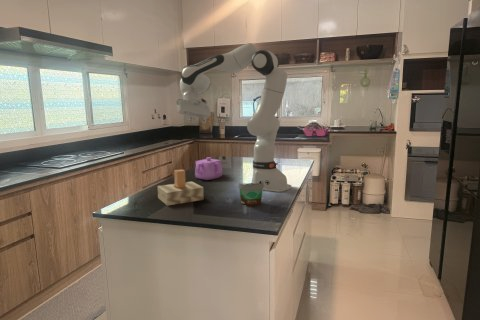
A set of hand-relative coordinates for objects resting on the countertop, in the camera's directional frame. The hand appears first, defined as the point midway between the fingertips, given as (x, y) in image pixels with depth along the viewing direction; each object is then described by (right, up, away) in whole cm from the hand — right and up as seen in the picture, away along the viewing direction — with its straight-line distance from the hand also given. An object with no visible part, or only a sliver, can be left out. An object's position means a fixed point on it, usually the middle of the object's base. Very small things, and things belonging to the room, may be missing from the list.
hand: (197, 121), depth 183 cm
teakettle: (+4, -31, +27) cm, 41 cm away
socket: (-6, -40, -20) cm, 45 cm away
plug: (-6, -40, -20) cm, 45 cm away
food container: (+29, -41, -30) cm, 59 cm away
